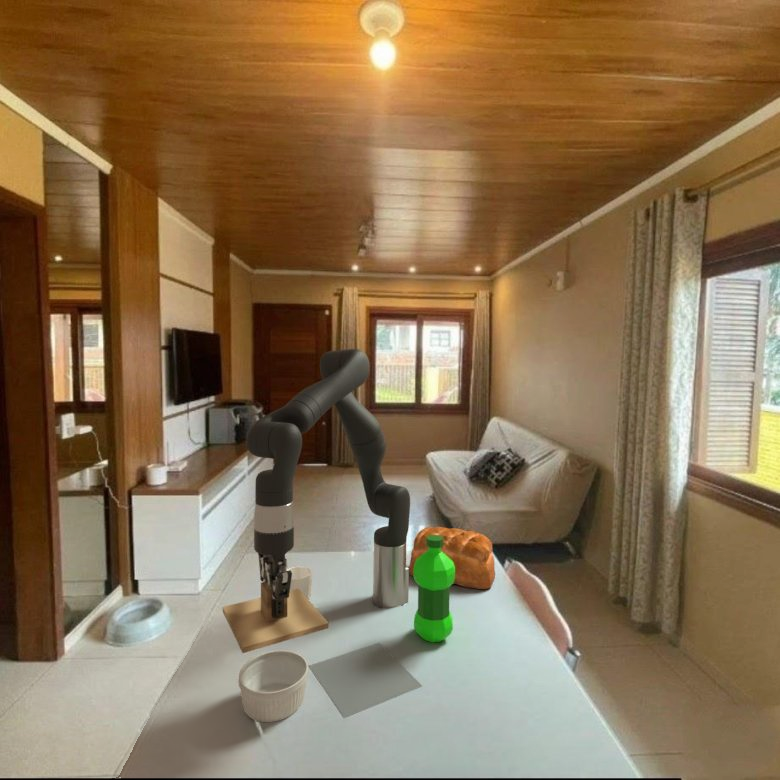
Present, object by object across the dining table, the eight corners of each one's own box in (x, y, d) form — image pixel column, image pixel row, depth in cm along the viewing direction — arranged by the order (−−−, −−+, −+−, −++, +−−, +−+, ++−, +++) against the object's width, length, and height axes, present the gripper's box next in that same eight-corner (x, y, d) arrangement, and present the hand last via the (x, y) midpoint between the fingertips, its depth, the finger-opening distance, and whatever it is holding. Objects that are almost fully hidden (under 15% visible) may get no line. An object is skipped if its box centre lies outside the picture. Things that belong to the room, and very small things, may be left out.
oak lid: (298, 593, 104) (298, 561, 104) (328, 628, 90) (328, 591, 90) (222, 611, 96) (222, 577, 96) (242, 653, 82) (242, 613, 82)
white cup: (276, 611, 129) (276, 575, 128) (293, 598, 136) (293, 564, 136) (301, 618, 126) (302, 581, 125) (317, 604, 133) (317, 569, 133)
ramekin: (272, 740, 85) (272, 702, 85) (223, 711, 92) (223, 676, 92) (321, 697, 96) (321, 663, 96) (274, 674, 103) (274, 642, 103)
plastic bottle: (403, 638, 117) (405, 538, 116) (430, 621, 125) (431, 527, 124) (436, 655, 110) (438, 549, 109) (462, 636, 118) (464, 537, 117)
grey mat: (379, 644, 114) (379, 642, 114) (422, 688, 99) (422, 685, 99) (308, 668, 105) (308, 665, 105) (343, 720, 90) (343, 717, 90)
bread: (490, 593, 141) (491, 542, 140) (405, 578, 150) (406, 530, 149) (496, 574, 154) (497, 527, 154) (418, 562, 163) (418, 517, 163)
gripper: (306, 532, 88) (305, 623, 89) (281, 512, 100) (281, 591, 101) (265, 539, 84) (265, 634, 85) (245, 517, 96) (245, 600, 97)
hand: (274, 610), depth 93 cm, fingers closed on oak lid, 4 cm apart
